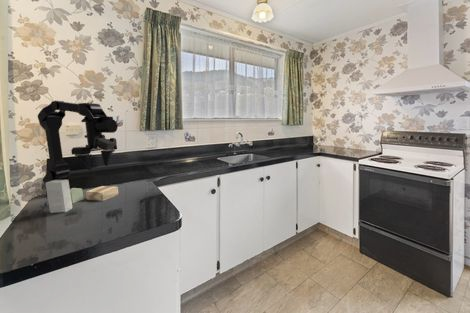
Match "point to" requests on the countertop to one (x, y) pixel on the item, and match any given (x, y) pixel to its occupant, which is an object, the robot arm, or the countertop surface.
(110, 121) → the robot arm
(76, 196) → the sage cube
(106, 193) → the maple block
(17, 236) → the countertop surface
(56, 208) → the skincare box
